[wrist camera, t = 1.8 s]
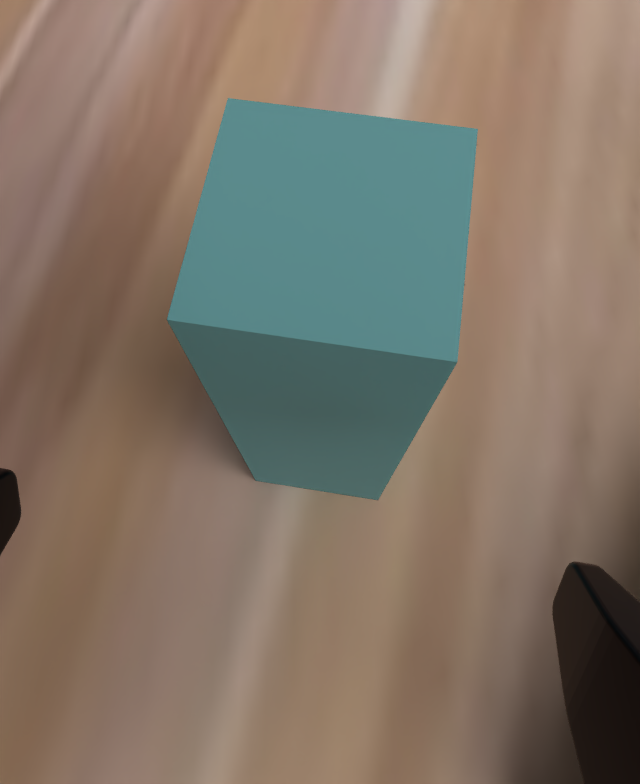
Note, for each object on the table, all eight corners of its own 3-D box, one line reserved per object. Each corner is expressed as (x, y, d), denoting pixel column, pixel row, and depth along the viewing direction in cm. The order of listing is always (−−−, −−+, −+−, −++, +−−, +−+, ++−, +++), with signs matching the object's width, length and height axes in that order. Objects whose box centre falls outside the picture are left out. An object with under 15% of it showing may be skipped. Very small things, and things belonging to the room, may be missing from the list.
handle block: (377, 499, 21) (457, 361, 9) (255, 480, 21) (166, 319, 9) (392, 385, 22) (477, 128, 10) (278, 367, 23) (228, 98, 10)
